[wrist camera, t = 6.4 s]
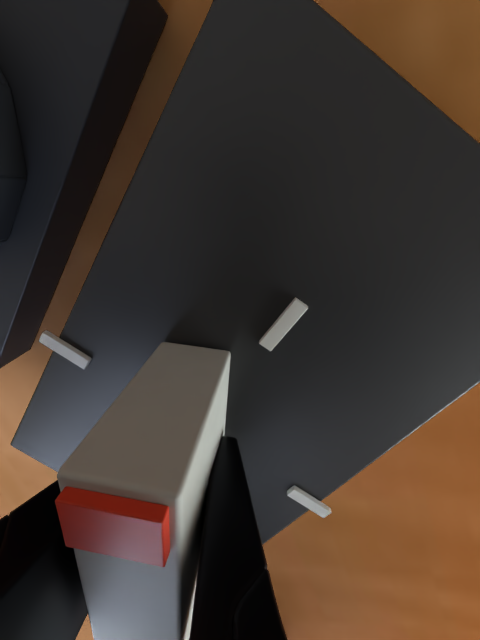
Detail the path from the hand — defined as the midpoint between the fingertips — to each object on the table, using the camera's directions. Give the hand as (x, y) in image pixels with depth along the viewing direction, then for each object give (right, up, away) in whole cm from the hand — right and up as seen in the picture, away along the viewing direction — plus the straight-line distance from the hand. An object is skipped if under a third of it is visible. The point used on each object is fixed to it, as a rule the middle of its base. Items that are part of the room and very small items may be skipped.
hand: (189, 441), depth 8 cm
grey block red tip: (0, 0, 0) cm, 0 cm away
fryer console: (+2, +3, +2) cm, 4 cm away
